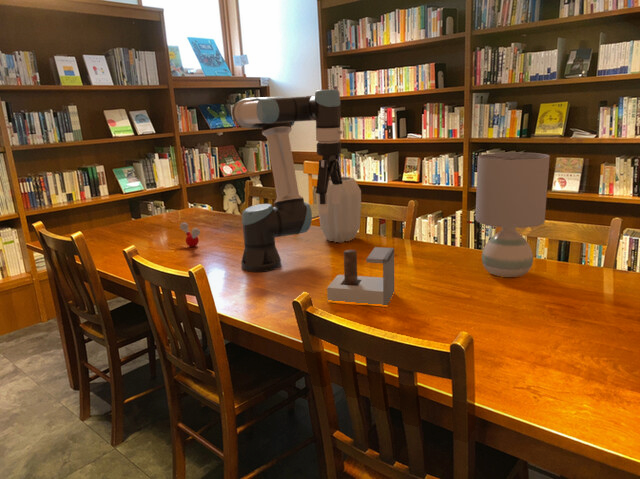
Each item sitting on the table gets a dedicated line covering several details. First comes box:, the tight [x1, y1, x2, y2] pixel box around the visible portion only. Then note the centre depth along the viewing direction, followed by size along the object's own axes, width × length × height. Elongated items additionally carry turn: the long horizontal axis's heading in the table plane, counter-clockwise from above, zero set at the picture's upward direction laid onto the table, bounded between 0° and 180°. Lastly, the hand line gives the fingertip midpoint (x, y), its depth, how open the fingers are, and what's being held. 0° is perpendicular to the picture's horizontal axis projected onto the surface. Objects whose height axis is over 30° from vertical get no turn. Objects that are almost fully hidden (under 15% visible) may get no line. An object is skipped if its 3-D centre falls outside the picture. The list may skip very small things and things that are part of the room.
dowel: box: [343, 249, 358, 286], centre depth 155 cm, size 4×4×15 cm
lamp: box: [474, 152, 551, 278], centre depth 166 cm, size 22×22×40 cm
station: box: [326, 246, 395, 305], centre depth 154 cm, size 19×12×15 cm, turn 72°
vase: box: [316, 176, 362, 243], centre depth 221 cm, size 20×20×27 cm
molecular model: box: [179, 222, 201, 248], centre depth 222 cm, size 18×6×10 cm, turn 41°
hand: (330, 208), depth 159 cm, fingers open, 13 cm apart
